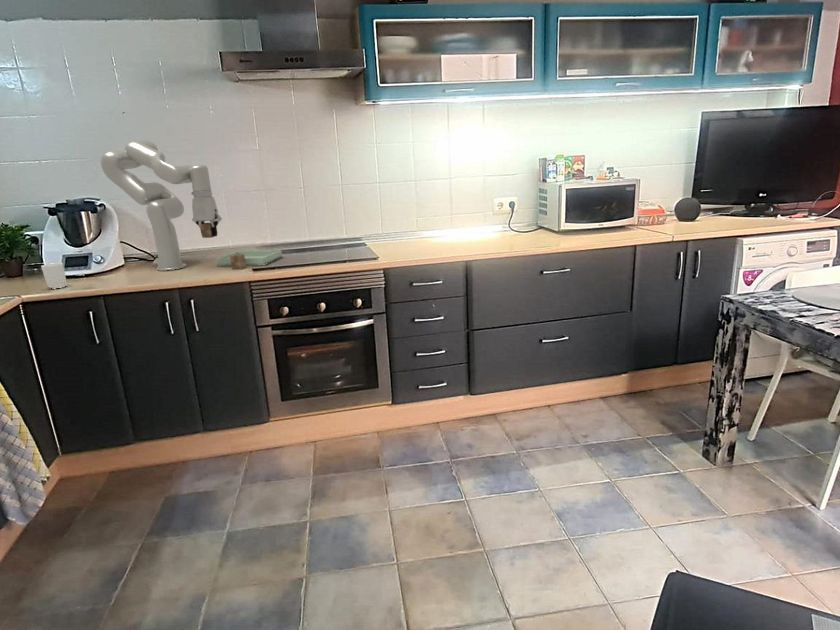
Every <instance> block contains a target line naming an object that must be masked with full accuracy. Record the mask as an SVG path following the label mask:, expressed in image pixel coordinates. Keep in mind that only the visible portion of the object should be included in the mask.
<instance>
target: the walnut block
mask: <svg viewBox="0 0 840 630" xmlns="http://www.w3.org/2000/svg"><path fill="white" fill-rule="evenodd" d="M200 226H201V229H200V233H201V232H202V234H201V238H202V239H207V238H208V239H209V238H210V239H211V238H215V237H217V236H218V234H217V235H216V236H212V231H211V227H212V226H211V223H210V222H205V223H203V224H200Z"/></svg>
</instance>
